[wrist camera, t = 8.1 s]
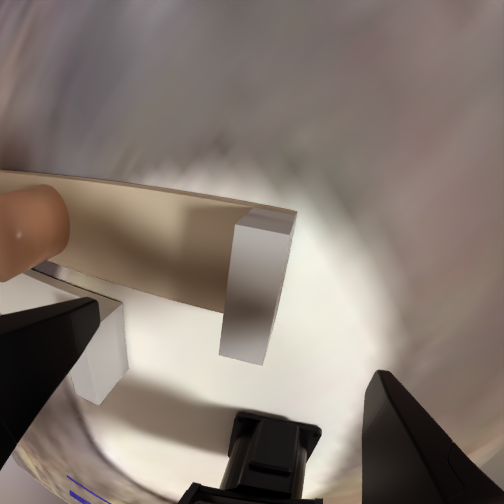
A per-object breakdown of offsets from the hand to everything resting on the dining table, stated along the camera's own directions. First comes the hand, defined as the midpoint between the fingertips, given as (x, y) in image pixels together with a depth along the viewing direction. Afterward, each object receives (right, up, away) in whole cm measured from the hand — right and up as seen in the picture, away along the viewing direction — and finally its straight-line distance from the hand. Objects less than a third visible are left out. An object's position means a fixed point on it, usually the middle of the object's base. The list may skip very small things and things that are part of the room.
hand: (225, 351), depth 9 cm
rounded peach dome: (-13, +5, +9) cm, 17 cm away
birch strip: (-9, +5, +9) cm, 14 cm away
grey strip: (-20, -1, +13) cm, 24 cm away
